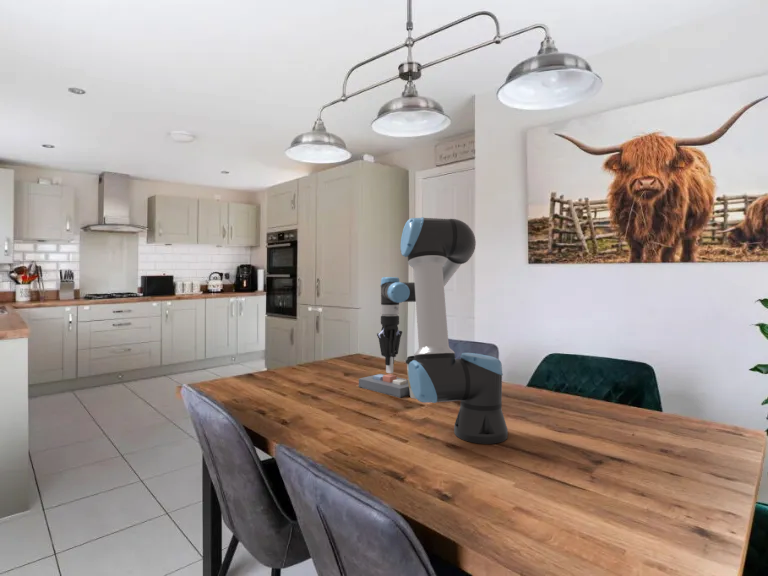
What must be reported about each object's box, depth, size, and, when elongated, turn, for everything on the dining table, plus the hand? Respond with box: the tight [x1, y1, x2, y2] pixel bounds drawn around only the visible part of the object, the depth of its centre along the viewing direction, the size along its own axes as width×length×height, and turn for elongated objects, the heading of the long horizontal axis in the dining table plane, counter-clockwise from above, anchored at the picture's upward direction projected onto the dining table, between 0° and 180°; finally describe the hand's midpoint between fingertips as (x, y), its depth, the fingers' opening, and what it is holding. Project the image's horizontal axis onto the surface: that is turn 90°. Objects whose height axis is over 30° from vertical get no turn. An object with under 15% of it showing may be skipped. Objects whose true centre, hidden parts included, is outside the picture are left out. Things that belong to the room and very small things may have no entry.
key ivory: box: [393, 378, 408, 385], centre depth 172 cm, size 4×4×2 cm
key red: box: [383, 373, 398, 383], centre depth 176 cm, size 4×4×2 cm
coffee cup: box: [405, 355, 417, 400], centre depth 165 cm, size 10×10×15 cm
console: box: [358, 373, 410, 399], centre depth 176 cm, size 13×23×4 cm, turn 46°
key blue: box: [372, 373, 385, 380], centre depth 179 cm, size 4×4×2 cm
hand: (389, 372), depth 176 cm, fingers closed
